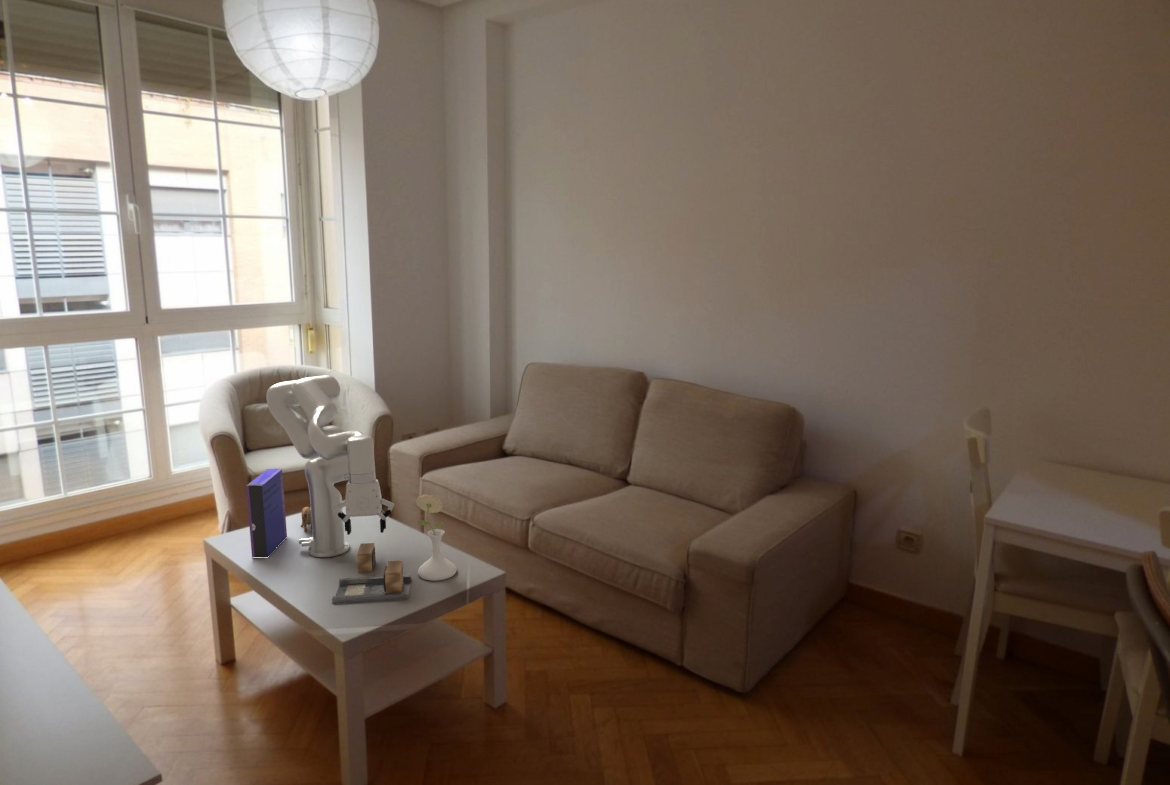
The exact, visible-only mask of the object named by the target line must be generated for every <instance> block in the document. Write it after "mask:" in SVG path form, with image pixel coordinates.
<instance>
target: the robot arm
mask: <svg viewBox="0 0 1170 785" xmlns="http://www.w3.org/2000/svg"><path fill="white" fill-rule="evenodd" d="M340 395H341V386H340V383H339V382H338V380H337V379H336V378H335V377H334V376H333V375H330V374H323V375H316V376H308V377H302V378H300V379H295V380H294V379H293V380H287V381H281V382H277V383H275V384H272V385H271V386H269V388H268V389H267V391H266V396H265V397H266V403H267V406H268V410H269V412H270V414H271V415H272V417H273V418H274V420H276V421H277V423H278V424H280V425H281V427H282V428H283V429H284V431H285V432H286V435H288V438H289V439H290V442H291V443H292V444H293V446H294V448H295V450H296V452H297V453H298V454H299V456H300V457H301V458H303V459H306V460H308V461H306V463H305V465H304V473H305V479H306V482H307V487H308V492H309V501H310V504H309V505H310V508H311V519H312V530H311V532H312V536H310V537H309V538H304V537H303V538H301V537H300V538H299V539H298V545H301V547H303V548H304V547H308V550H307V551H308V553H309V554H308V555H310V556H312V557H316V558H331V557H337V556H340V555H343V554H344V553H347V552H348V551H349V550H350V548H351V547H350V546H351V545H350V542H349V541H347V540H345V532H346V534H347V535H348V536H349V535H351V533H352V520H351V518H352V517H371V516H373V517H374V516H378V517H379V518H380V519H379V524H380V525H379V530H380V533H381V534H382V533H384V531H385V530H386V529H387V520H386V519H387V518H388V516H389V515H390V514H391V513H392V511H393V509H394V507H395V503H394V502H392V501H390V500H387V499H385V498H382V492H381V487H380V483H379V480H378V479H377V478H376V465H375V464H376V463H375V461H376V460H375V447H374V446H375V445H374V444H375V443H374V439H373V437H372V436H371V435H367V434H364V433H362V432H361V431H360V430H356V429H352V430H347V431H344V429H342V428H341V427H340V426H339V425H328V424H330V423H332V421H333V420H334V419H335V418H336V416H337V413H338V408H337V406H336V404H335V403H334V402H333V401H335V400H337V399H338V398H339V396H340ZM298 406H300V407H301V409H302V410H303V411H301V410H299V409H298V408H296V407H298ZM343 481H347V482H346V484H345V485H346V487H345V497H344V498H345V500H344V501H343V497H342V494H341V492H340V491H339V490H338V489H337V488H336V487H335V485H334V484H336V483H339V482H343ZM383 505H384V506H386V507H388V508H387V509H386V511H384V510H383ZM343 508H345V513H346V514H345V513H344V511H343Z"/></svg>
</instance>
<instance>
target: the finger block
mask: <svg viewBox="0 0 1170 785" xmlns="http://www.w3.org/2000/svg"><path fill="white" fill-rule="evenodd" d="M376 560H377V559H376V547H375V542H371V543H370V542H367V543H360V545H359V548H358V550H357V553H356V561H357V564H356V565H357V573H358V574H363V573H366V574H367V573H372V572H373V571H374V570H375V566H376V563H377V561H376Z"/></svg>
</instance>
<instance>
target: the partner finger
mask: <svg viewBox="0 0 1170 785" xmlns="http://www.w3.org/2000/svg"><path fill="white" fill-rule="evenodd" d="M403 561H404V560H390V561H389V560H388V561H387V564H386V565H385V569H384V571H383V578H384V592H386V593H400V592H402V588H403V575H404V564H403Z"/></svg>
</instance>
